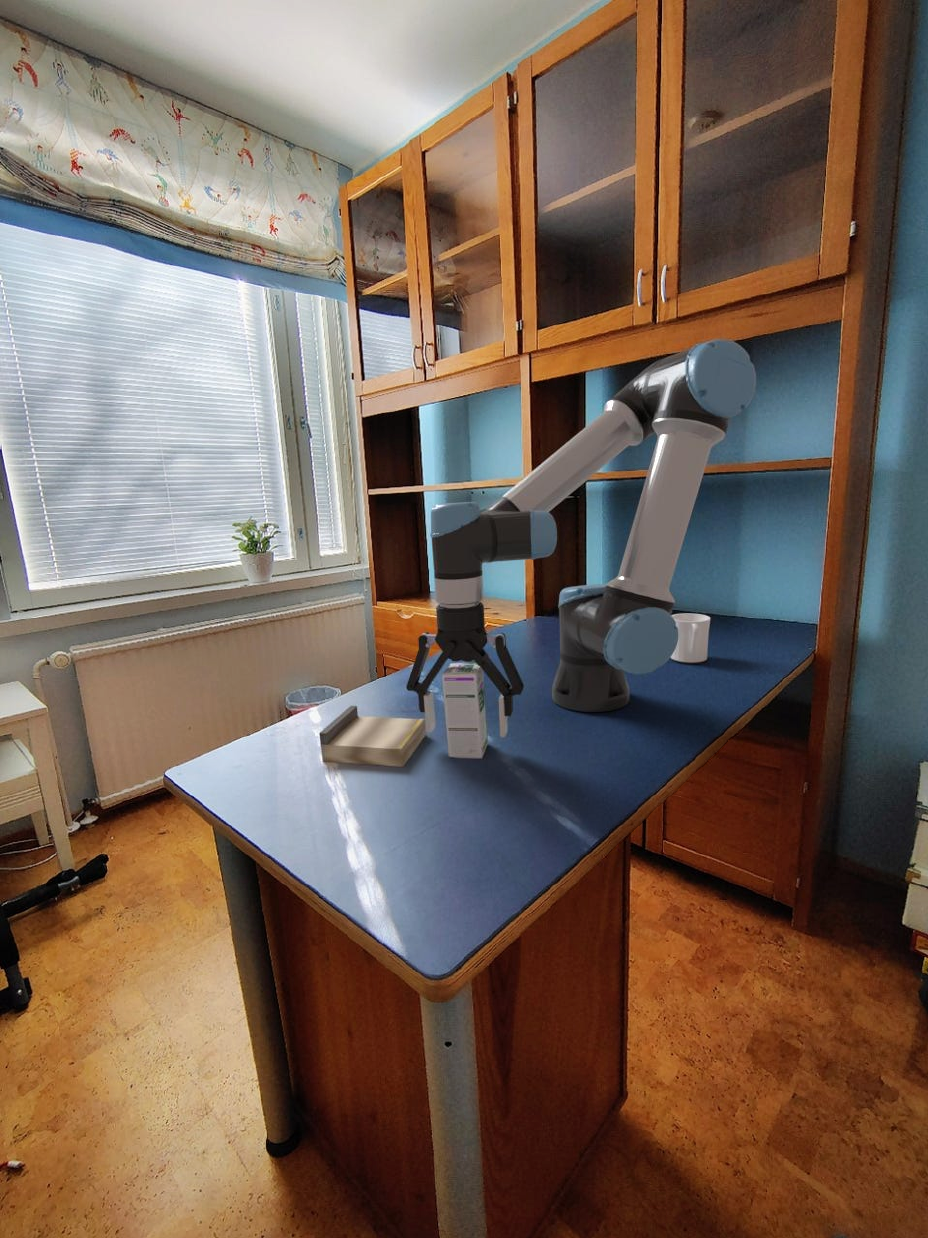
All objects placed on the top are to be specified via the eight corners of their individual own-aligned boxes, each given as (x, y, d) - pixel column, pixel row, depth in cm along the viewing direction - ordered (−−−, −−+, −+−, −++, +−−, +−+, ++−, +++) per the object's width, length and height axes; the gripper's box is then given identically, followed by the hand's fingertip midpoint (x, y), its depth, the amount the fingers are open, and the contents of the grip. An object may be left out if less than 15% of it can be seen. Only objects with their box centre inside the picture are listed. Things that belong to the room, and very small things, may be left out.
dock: (425, 735, 102) (423, 708, 101) (402, 766, 91) (400, 737, 90) (353, 731, 106) (350, 705, 104) (322, 761, 94) (319, 733, 93)
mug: (665, 654, 141) (666, 613, 139) (703, 654, 140) (704, 612, 137) (674, 668, 130) (676, 624, 128) (715, 668, 129) (717, 623, 127)
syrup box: (482, 759, 92) (478, 673, 89) (446, 757, 93) (441, 672, 90) (488, 743, 97) (484, 662, 94) (454, 742, 99) (449, 662, 95)
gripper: (539, 597, 90) (542, 726, 95) (396, 598, 96) (405, 719, 101) (533, 607, 83) (536, 746, 88) (379, 608, 89) (390, 737, 94)
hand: (466, 732), depth 94 cm, fingers open, 12 cm apart
